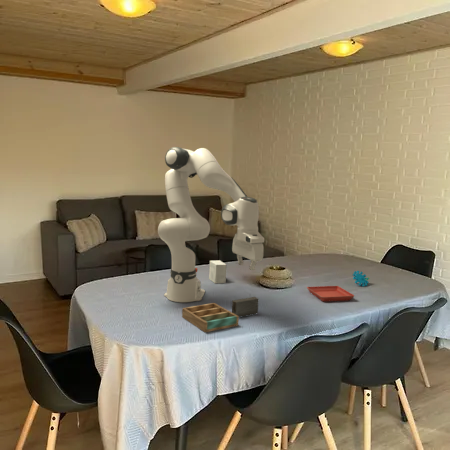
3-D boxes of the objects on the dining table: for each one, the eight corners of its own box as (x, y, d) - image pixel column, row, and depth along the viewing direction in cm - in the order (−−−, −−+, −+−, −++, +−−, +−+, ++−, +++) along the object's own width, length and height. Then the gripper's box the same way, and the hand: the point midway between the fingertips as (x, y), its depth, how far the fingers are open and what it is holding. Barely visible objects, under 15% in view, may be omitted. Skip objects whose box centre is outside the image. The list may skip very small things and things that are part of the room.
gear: (357, 285, 253) (351, 269, 259) (351, 290, 257) (345, 274, 263) (373, 286, 257) (367, 270, 263) (366, 291, 261) (361, 276, 267)
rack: (204, 332, 182) (205, 322, 182) (182, 317, 198) (182, 308, 197) (238, 325, 191) (238, 316, 190) (214, 311, 207) (214, 302, 206)
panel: (235, 318, 200) (236, 302, 199) (231, 315, 202) (232, 300, 201) (257, 313, 206) (258, 298, 205) (253, 311, 209) (254, 296, 208)
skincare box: (226, 283, 252) (227, 264, 250) (215, 283, 250) (215, 264, 248) (219, 278, 262) (220, 259, 260) (208, 278, 259) (209, 260, 258)
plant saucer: (305, 292, 242) (306, 286, 242) (337, 291, 247) (337, 285, 246) (321, 303, 225) (321, 297, 224) (354, 302, 229) (355, 295, 229)
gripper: (229, 232, 204) (228, 262, 206) (253, 240, 186) (252, 273, 188) (241, 231, 207) (240, 261, 209) (266, 239, 189) (265, 272, 191)
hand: (246, 267), depth 199 cm, fingers open, 8 cm apart
